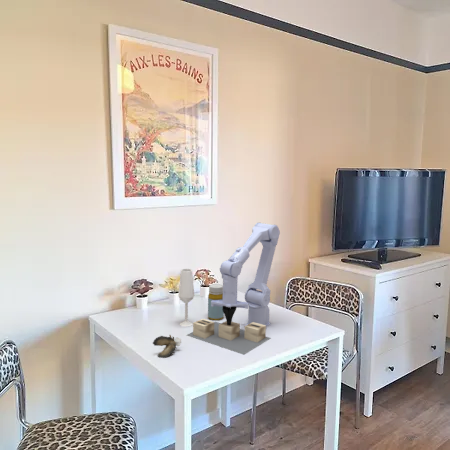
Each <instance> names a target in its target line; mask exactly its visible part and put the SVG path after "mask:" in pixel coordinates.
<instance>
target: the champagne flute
mask: <svg viewBox="0 0 450 450" xmlns="http://www.w3.org/2000/svg"><path fill="white" fill-rule="evenodd" d="M179 274H180V276H179V285H178V286H179V288H178V299H180V301H181V302H182V303H184V320H183V321H181V322H180V323H179V326H180V327H184V328H185V327H191V326H193V323H194V322H191V321H189V320H188V318H189V315H188V313H189V306H188V305H189V303H190V302H192V300H194V297H195V286H194V277H193V274H194V273H193V269H191V268H182V269H180V273H179Z"/></svg>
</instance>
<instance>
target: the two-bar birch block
mask: <svg viewBox="0 0 450 450" xmlns="http://www.w3.org/2000/svg"><path fill="white" fill-rule="evenodd" d="M214 322H215V321H213V320H210V319H206V318H201V319H199V320H196V321H194V322H192V323H193V325H192V326H193V327H192V332H193V335H195V336H198V337H201V338H204V339H205V338H207V337H209V336H211V335H213V334H214Z"/></svg>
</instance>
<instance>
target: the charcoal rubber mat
mask: <svg viewBox="0 0 450 450" xmlns="http://www.w3.org/2000/svg"><path fill="white" fill-rule="evenodd" d="M213 322H214V334H213V335H211V336H209V337H207V338H205V339H204V338H201V337H198V336H195V335H193V331H192V332H189V333H187V334H186V337H190V338H192V339H197V340H199V341H202V342H205V343H208V344H211V345H214V346H217V347H219V348H223V349H226V350H229V351H231V352H235V353H238V354H241V355H246V354H248V353H250V352H251V351H253V350H254V349H256V348H257V347H259V346H261V345H262V344H264V343H266V342H267V341H269V340H270V339H272V338H271V337H269V336H266V338H264V339H262V340H261V341H259V342H254V341H251V340H248V339H244V337H245V329H241V328H240V336H238V337H236V338H235V339H233V340H227V339H224V338H221V337H219V324H221V323H222V322H217V321H213Z"/></svg>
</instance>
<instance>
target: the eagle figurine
mask: <svg viewBox="0 0 450 450" xmlns="http://www.w3.org/2000/svg"><path fill="white" fill-rule="evenodd" d="M181 344H182V339H181V338H180V337H174V336H172V335H171V334H169V336H164V335H160V336H158V337H156V338H155V339H154V340H153V342H152V345H153V346H158V347H159V346H161V347H163V346H164V347H163V350H162V351H161V352H159V353H158V354H157V357H158V358H160V359H161V358H163V359H165V358H167V357H169V356H170V355H171V354H172V353H173V352H175V351H176V349H177V347H179V346H181ZM176 346H177V347H176Z"/></svg>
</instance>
